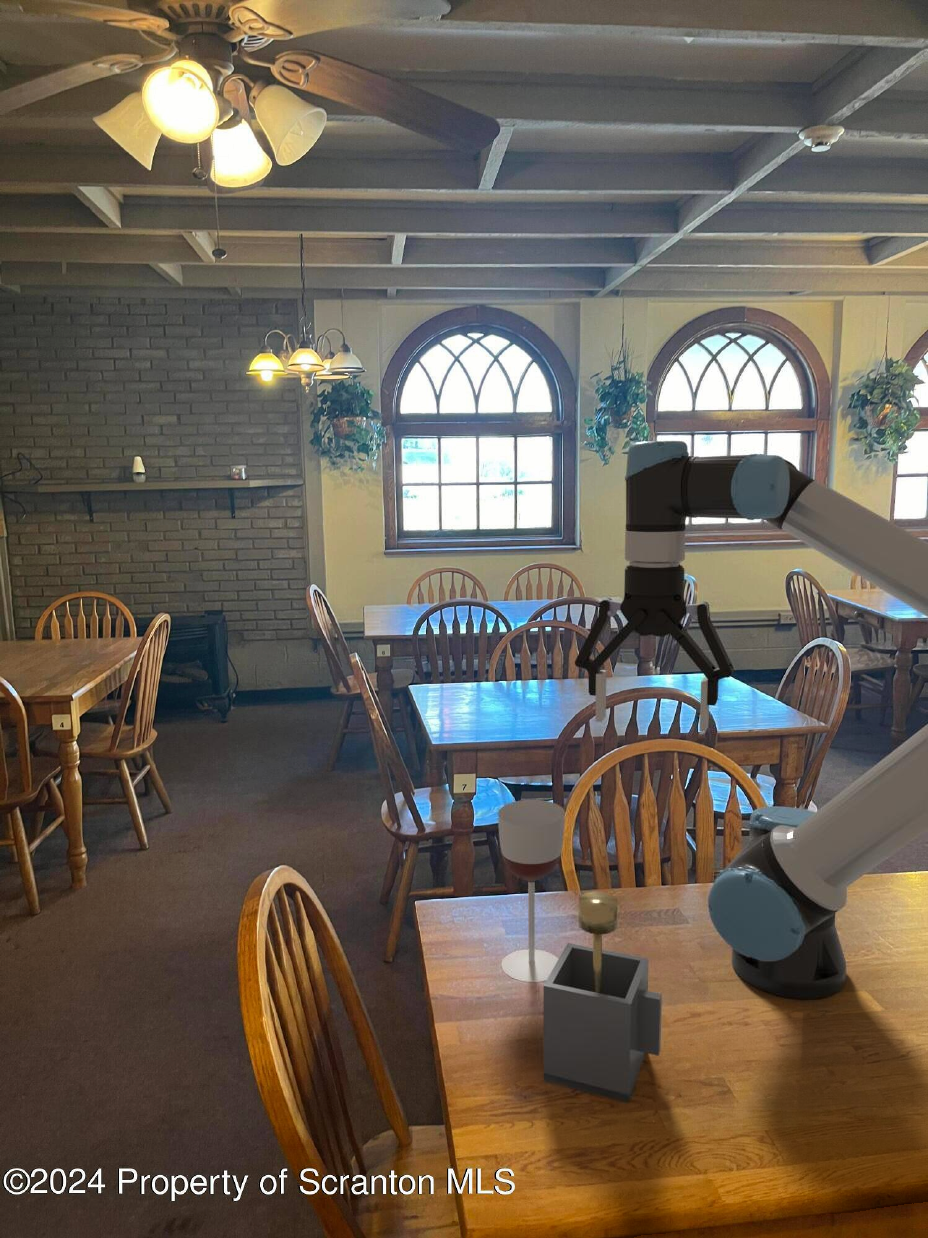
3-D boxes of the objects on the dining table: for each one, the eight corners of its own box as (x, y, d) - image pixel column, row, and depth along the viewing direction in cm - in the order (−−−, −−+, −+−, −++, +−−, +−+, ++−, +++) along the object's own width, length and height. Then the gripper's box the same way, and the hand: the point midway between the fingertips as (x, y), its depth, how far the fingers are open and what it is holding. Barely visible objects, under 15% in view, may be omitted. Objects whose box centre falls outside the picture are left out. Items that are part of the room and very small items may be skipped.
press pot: (666, 1054, 107) (668, 962, 105) (650, 1108, 98) (652, 1009, 96) (567, 1031, 112) (567, 943, 110) (543, 1081, 103) (543, 985, 101)
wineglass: (573, 955, 130) (573, 805, 126) (550, 991, 121) (550, 830, 117) (514, 942, 134) (514, 796, 130) (488, 976, 125) (486, 820, 121)
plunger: (633, 1038, 107) (635, 892, 104) (619, 1075, 100) (622, 920, 97) (575, 1025, 110) (576, 882, 107) (558, 1060, 103) (559, 909, 100)
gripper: (758, 563, 112) (752, 725, 116) (568, 558, 122) (567, 708, 125) (753, 569, 106) (747, 741, 109) (552, 564, 115) (552, 722, 118)
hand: (651, 724), depth 117 cm, fingers open, 13 cm apart
